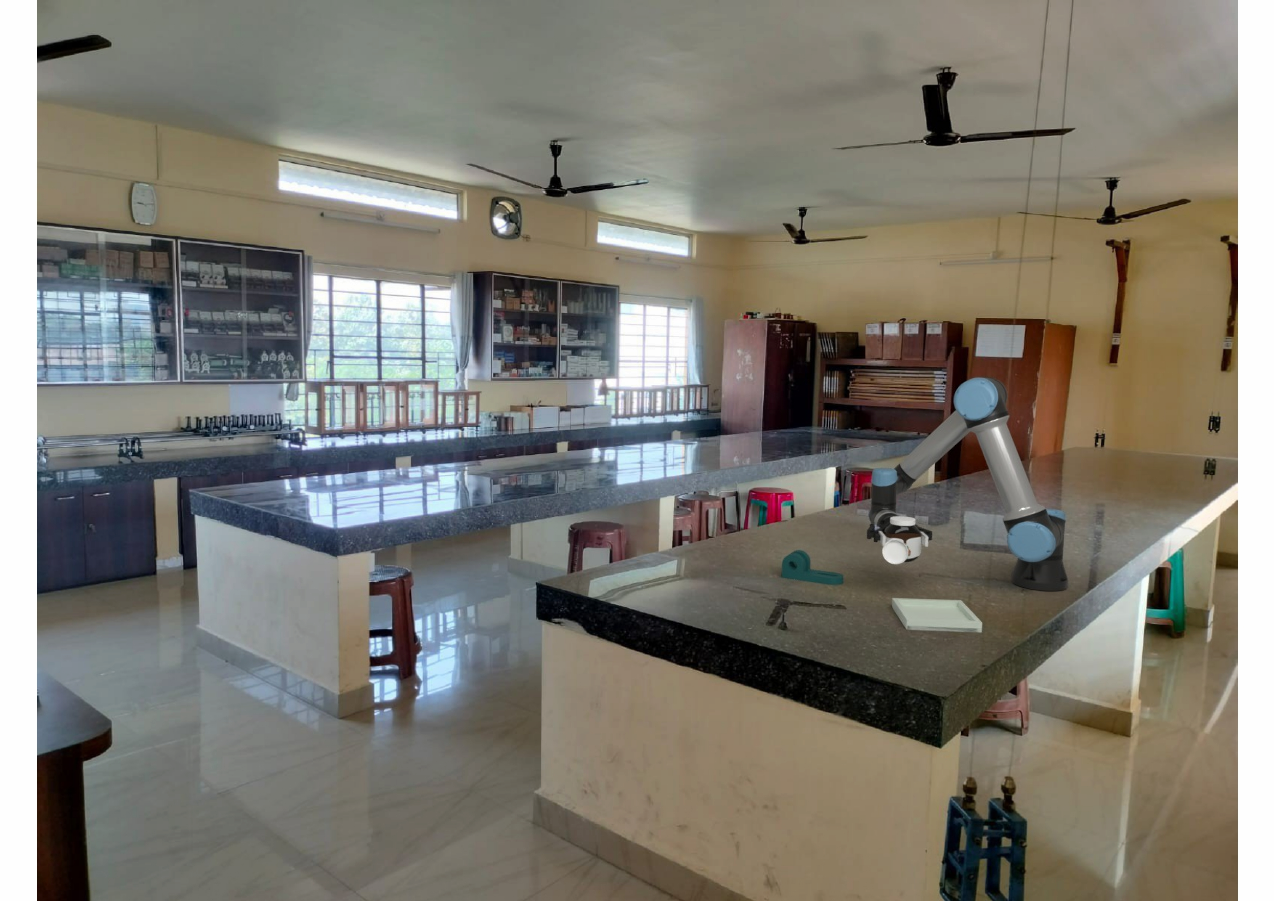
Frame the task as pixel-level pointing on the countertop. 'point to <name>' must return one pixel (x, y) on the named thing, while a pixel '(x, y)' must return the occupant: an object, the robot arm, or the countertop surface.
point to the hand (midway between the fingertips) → (905, 541)
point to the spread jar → (902, 540)
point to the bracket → (807, 570)
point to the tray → (936, 615)
